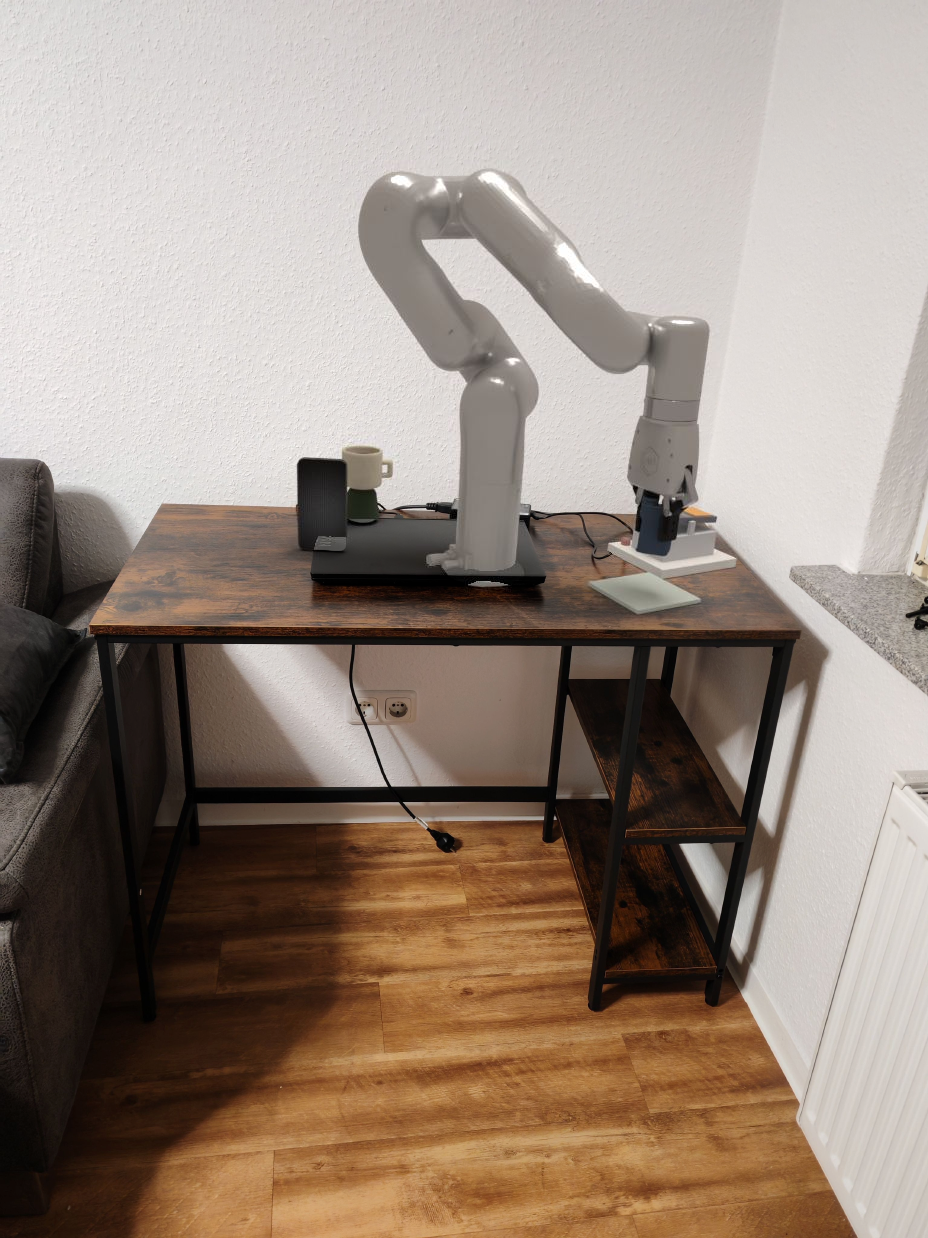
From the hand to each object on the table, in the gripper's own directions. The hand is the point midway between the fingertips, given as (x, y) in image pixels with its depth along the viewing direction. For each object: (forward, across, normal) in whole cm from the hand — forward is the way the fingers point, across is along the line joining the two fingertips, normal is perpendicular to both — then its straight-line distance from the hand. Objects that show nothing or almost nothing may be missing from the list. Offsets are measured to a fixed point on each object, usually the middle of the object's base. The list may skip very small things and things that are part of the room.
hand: (655, 534), depth 133 cm
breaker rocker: (+2, -11, +15) cm, 19 cm away
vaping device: (+3, 0, 0) cm, 3 cm away
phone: (+9, -36, -38) cm, 53 cm away
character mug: (+9, -48, -26) cm, 55 cm away
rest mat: (+10, 0, 0) cm, 10 cm away
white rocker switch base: (+10, -12, +14) cm, 21 cm away
